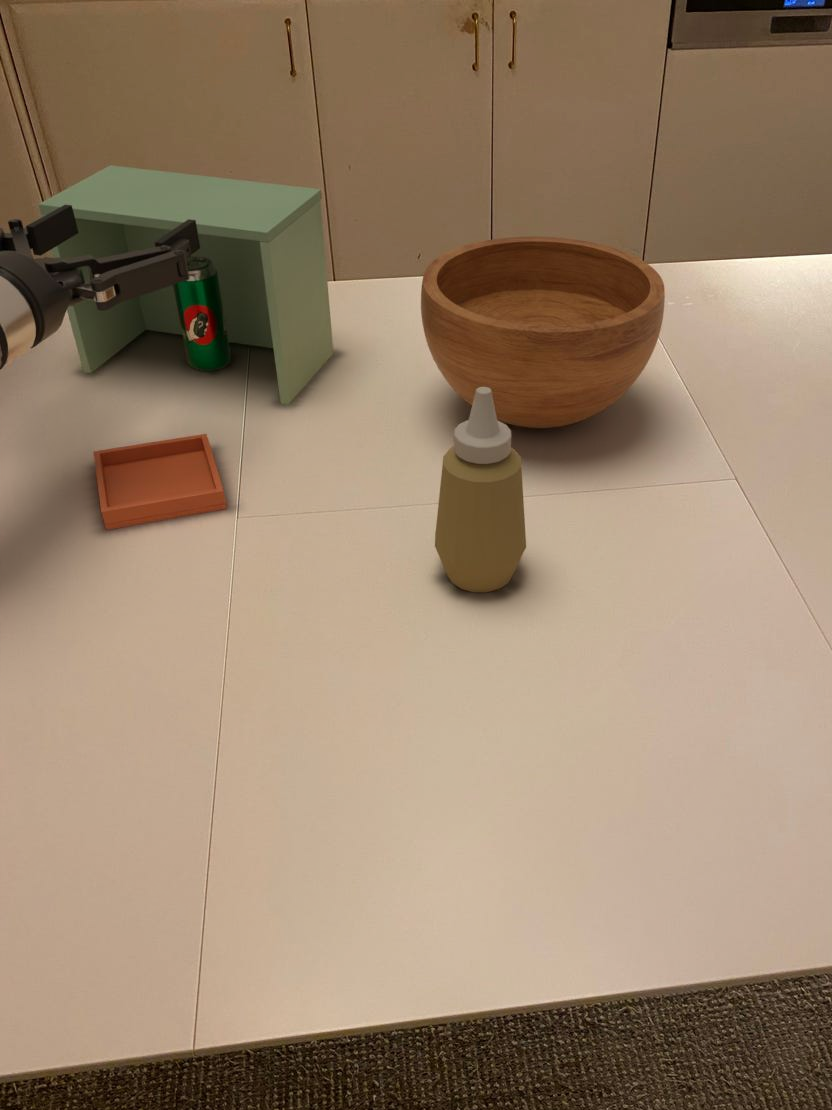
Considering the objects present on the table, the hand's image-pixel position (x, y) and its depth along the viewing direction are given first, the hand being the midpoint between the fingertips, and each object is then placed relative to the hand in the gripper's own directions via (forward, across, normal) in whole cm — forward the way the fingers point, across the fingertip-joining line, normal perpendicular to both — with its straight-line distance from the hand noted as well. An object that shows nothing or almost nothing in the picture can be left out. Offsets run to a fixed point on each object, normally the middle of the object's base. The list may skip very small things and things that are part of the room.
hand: (132, 226), depth 98 cm
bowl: (+10, +40, -20) cm, 45 cm away
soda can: (+10, 0, -19) cm, 22 cm away
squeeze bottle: (-20, +42, -20) cm, 50 cm away
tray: (-16, +8, -19) cm, 26 cm away
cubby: (+10, 0, -19) cm, 22 cm away
